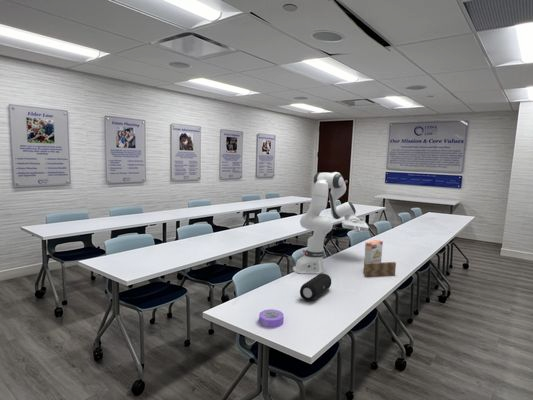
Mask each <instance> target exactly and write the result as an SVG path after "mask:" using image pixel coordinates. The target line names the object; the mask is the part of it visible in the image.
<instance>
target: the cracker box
mask: <svg viewBox="0 0 533 400" xmlns="http://www.w3.org/2000/svg"><path fill="white" fill-rule="evenodd" d="M383 243H384V242H383V241H382V240H378V239H375V240H370V241H366V242H365V246H364V257H363V258H364V259H363V260H364V261H363V269H364V268H365V263H382V256H383V255H382V254H383V245H384V244H383Z"/></svg>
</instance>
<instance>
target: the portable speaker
mask: <svg viewBox="0 0 533 400" xmlns="http://www.w3.org/2000/svg"><path fill="white" fill-rule="evenodd" d="M331 286H332V277H330V275H329V274H327V273H323V272H321V273H320V274H317V275H316V276H314V277H313V278H311V279H309V280H308V281H306V282H304V283H303V284H302V285H301V286H300V290H299V296H300V297H301V298H302V299H303V300H304V301H306V302H307V301H309V302H312V301H315V300H316V298H318V297H319V296H321V295H322V294H324V292H325V291H327V290H328V289H330V287H331Z"/></svg>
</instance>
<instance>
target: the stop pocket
mask: <svg viewBox="0 0 533 400" xmlns="http://www.w3.org/2000/svg"><path fill="white" fill-rule="evenodd" d="M396 265H397V263H396V262H395V261H390V262H387V261H385V262H382V261H381V263H365V268H364V267H363V276H364V277H365V278H371V277H372V278H373V277H374V278H375V277H390V276H391V277H393V276H394V277H395V276H396V269H397V268H396V267H397V266H396Z"/></svg>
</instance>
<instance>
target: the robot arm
mask: <svg viewBox="0 0 533 400" xmlns="http://www.w3.org/2000/svg"><path fill="white" fill-rule="evenodd" d="M313 183H314V185H313V190H312V193H311V194H312V195H311V201H310V206H309V208H308V210H307V211H306V212H305V214H303V215H302V216H301V217H300V221H299V223H300V226H301V227H302V228H303V229H306V230H308V231H313V233H312V235H311V236H309V237H308V239H307V246H306V247H307V249H303V250H302V253H304V254H303V256H301V257H300V258H299V259H298V260H297V261H296V264H295V265H294V266H293V267H292V270H293V271H294V272H295V273H296V274H302V275H303V274H304V275H306V274H307V275H308V274H309V275H310V274H311V275H313V274H314V275H315V274H317V275H319V274H321V273H323V272H325V266H324V255H325V254H324V241H325V238H326V236H327V234H328V233H330V232H331V231H332V230H333V227H334V226H333V225H334V224H333V220H332V219H331V218H329V217H326V216H322V215H321V213H322V212H323V211H325V210H326V208H327V206H328V199H329V205H330V214H331V216H332V218H333V219H335V220H340V219H341V218H344V219H343V220H341V221H340V222H341V226H342V228H343V229H348V230H353V231H355V232H356V233H360V232H361V231H362V232H366V233H367V232H368V231H369V228H370V227H369V225H368V223H367V222H366V220H364V219H361V218H359V217H358V216H356V213H357V212H356V211H357V210H356V208H355V206H354V205H353V203H352V202H350V201H347V202H344V203H341V204H339V205H337V203H336V202H337V200H338V199H340V198H341V197H343V195H344V194H346V190H347V186H346V181H345V180H344V176H343V175H342V174H341V173H340V172H337V171H334V172H333V171H332V172H325V171H324V172H316V173H315V175H314V176H313ZM329 189H330V192H329Z"/></svg>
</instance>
